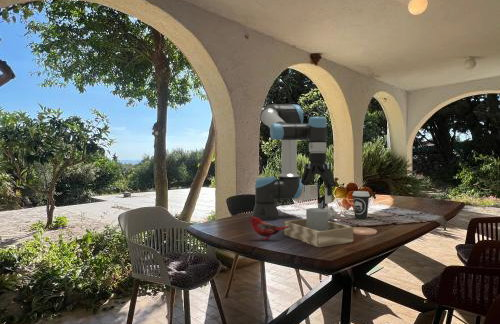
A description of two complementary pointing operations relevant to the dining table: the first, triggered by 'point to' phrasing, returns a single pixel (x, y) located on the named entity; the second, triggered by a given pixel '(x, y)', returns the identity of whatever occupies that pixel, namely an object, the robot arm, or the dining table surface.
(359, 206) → the coffee cup
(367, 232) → the terracotta tile
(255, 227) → the decorative bird figurine
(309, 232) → the pine crate
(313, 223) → the white upright block
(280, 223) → the dining table surface
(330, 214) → the grey rock
